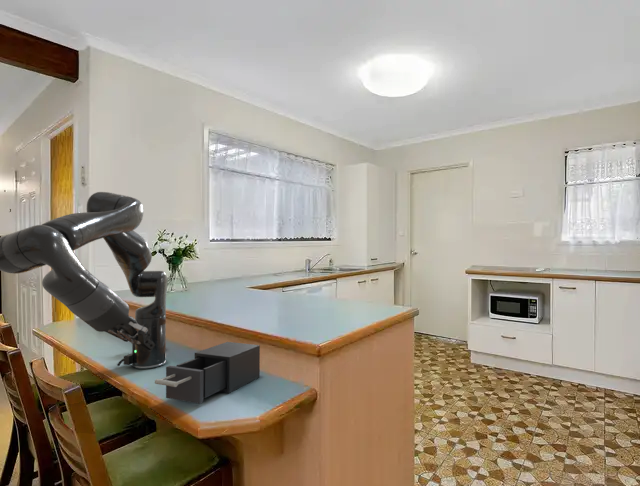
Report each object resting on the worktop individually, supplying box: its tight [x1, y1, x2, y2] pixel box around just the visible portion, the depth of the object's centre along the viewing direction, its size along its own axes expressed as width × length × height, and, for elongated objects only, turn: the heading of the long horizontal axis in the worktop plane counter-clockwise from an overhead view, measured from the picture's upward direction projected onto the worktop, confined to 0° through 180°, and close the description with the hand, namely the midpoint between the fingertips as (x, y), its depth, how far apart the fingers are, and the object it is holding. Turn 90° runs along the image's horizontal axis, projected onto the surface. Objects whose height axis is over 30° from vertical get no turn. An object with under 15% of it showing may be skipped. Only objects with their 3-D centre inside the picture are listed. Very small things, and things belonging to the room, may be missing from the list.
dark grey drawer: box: [154, 357, 227, 405], centre depth 99 cm, size 18×12×8 cm, turn 161°
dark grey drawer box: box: [194, 341, 261, 394], centre depth 112 cm, size 14×13×10 cm
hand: (150, 348), depth 87 cm, fingers closed
